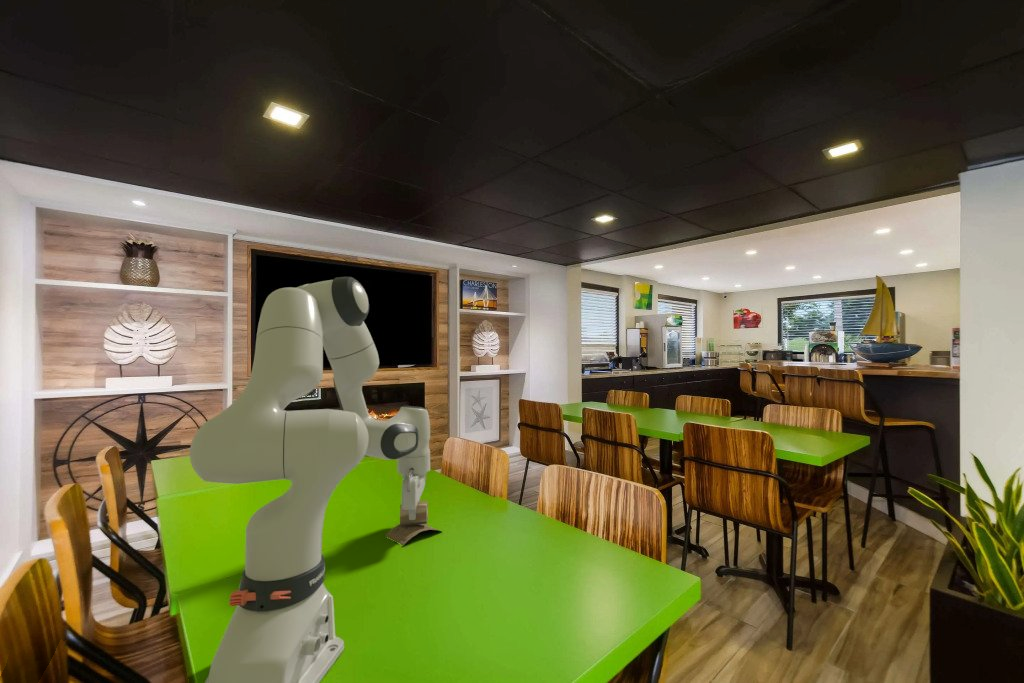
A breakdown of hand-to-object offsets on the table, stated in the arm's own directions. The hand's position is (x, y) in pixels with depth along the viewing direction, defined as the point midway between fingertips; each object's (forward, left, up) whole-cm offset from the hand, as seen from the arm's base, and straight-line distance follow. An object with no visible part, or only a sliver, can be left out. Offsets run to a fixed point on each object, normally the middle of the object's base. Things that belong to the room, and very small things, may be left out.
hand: (413, 515), depth 120 cm
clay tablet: (-1, 0, -5) cm, 5 cm away
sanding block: (0, 0, -2) cm, 2 cm away
